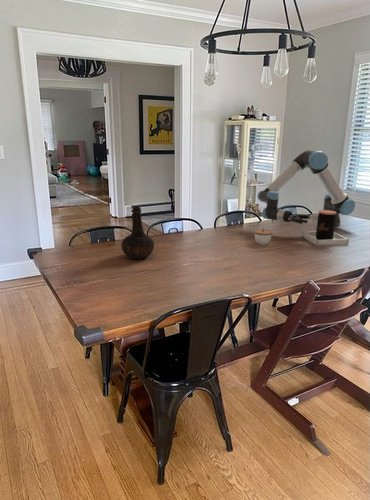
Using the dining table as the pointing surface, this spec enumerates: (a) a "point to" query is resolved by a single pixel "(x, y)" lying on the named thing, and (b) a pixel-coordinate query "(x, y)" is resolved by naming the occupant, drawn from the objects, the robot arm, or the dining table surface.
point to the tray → (335, 241)
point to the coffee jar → (325, 225)
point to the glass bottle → (137, 239)
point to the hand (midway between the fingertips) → (316, 220)
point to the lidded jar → (263, 236)
